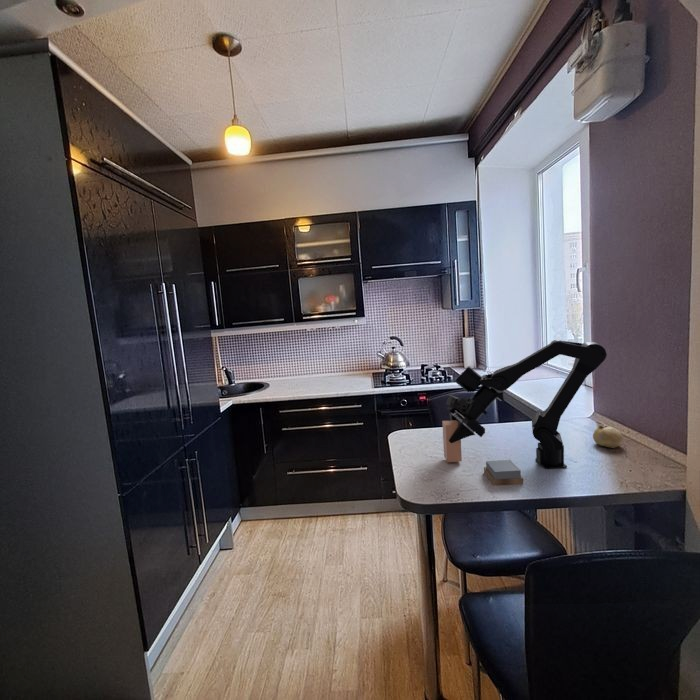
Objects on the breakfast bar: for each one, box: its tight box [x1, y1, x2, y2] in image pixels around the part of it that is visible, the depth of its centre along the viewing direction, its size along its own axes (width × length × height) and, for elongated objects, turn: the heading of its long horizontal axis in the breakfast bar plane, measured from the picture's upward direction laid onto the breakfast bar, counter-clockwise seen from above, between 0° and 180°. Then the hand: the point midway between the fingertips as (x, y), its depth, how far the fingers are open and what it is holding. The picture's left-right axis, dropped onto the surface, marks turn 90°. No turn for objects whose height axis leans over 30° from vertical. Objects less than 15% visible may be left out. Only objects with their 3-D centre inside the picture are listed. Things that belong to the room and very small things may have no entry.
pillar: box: [442, 419, 462, 463], centre depth 117 cm, size 4×4×12 cm
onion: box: [592, 423, 624, 449], centre depth 121 cm, size 8×8×7 cm
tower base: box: [483, 466, 524, 486], centre depth 105 cm, size 8×8×2 cm
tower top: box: [485, 459, 522, 479], centre depth 104 cm, size 7×7×2 cm
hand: (447, 439), depth 117 cm, fingers closed on pillar, 5 cm apart
